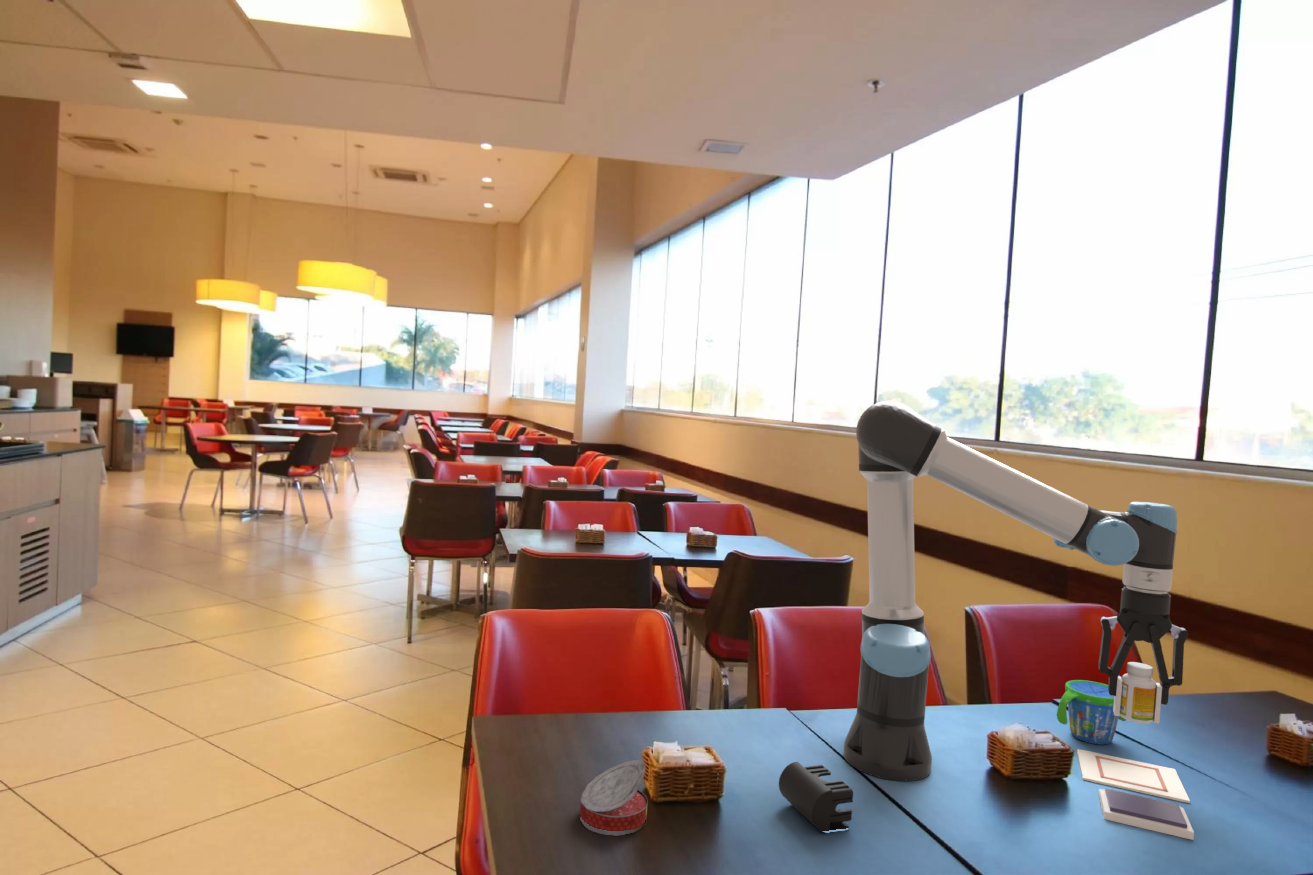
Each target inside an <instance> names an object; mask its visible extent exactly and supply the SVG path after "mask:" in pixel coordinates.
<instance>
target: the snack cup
mask: <svg viewBox="0 0 1313 875" xmlns="http://www.w3.org/2000/svg"><path fill="white" fill-rule="evenodd" d="M1064 688H1065V690H1064V691H1065V692H1064V693H1063V695H1062V696H1061V698H1060V701H1059V704H1058V707H1057V711H1056V719H1057V720H1058V722H1059V723H1060V724H1063V725H1067V724H1069V731H1070V734H1072V736H1074V737H1075V739H1078V740H1081V741H1083V742H1086V743H1088V744H1093V745H1108V744H1112V742H1113V740H1114V737H1115V733H1116V729H1117V726H1118V721H1119V720H1120V721H1123V722H1125V721H1127V720H1126V719H1124V718H1122V717H1121V716H1115V715H1114V712H1113V706H1114V696H1113V695H1110V694H1109V691H1108V684H1106V683H1103V682H1097V681H1091V680H1084V679H1074V680H1073V679H1072V680H1068V681H1066V682H1065V684H1064ZM1067 708H1068V709H1067ZM1067 710H1068V713H1067ZM1067 714H1068V716H1067ZM1068 722H1069V723H1068Z"/></svg>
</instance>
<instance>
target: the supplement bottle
mask: <svg viewBox="0 0 1313 875" xmlns="http://www.w3.org/2000/svg"><path fill="white" fill-rule="evenodd" d="M1126 672H1127V673H1124V674H1123V675H1122V676H1121V678H1122V693H1121V705H1120V716H1121V717H1122V718H1124V719H1126V721H1129V722H1133V723H1137V724H1144V725H1148V724H1152V723H1154V721H1153V718H1154V706H1155V694H1156V683H1157V682H1156V680H1154V678H1151V677H1153V674H1154V668H1153V666H1151V665H1149V664H1146V663H1142V662H1136V661H1129V662H1127V664H1126Z"/></svg>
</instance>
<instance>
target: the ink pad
mask: <svg viewBox="0 0 1313 875" xmlns="http://www.w3.org/2000/svg"><path fill="white" fill-rule="evenodd" d="M1098 799H1099V802H1100V806H1101V811H1102V816H1103V819H1104V820H1107V821H1110V822H1111V821H1112V822H1115V823H1119V824H1123V825H1127V826H1128V825H1129V826H1132V827H1137V828H1140V829H1145V830H1149V831H1153V832H1158V833H1162V834H1166V835H1170V836H1175V837H1179V838H1183V839H1187V840H1190V841H1191V840H1193V841H1194V840H1195V839H1194V838H1195V831H1194V828H1193V827H1192V825H1191V822H1190V820H1189V817H1188V815H1187V813H1186V811H1185V809H1184V807H1182V806H1180V805H1179V804H1178V803H1173V802H1169V801H1165V800H1160V799H1155V798H1152V797H1146V796H1142V795H1138V794H1134V793H1133V794H1132V793H1129V792H1124V791H1119V790H1114V789H1110V788H1107V787H1105V788H1104V789H1103V788H1099V789H1098Z"/></svg>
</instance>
